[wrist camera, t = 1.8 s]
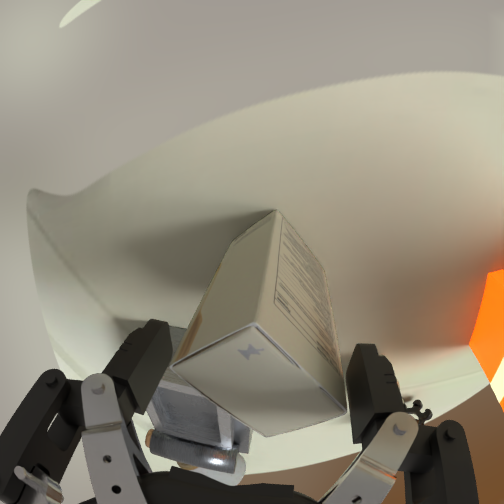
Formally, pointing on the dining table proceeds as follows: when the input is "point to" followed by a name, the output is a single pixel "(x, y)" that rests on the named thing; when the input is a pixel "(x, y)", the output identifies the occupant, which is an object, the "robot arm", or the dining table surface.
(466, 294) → the dining table surface
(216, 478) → the ceramic mug
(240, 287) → the skincare box
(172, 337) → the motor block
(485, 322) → the orange juice
